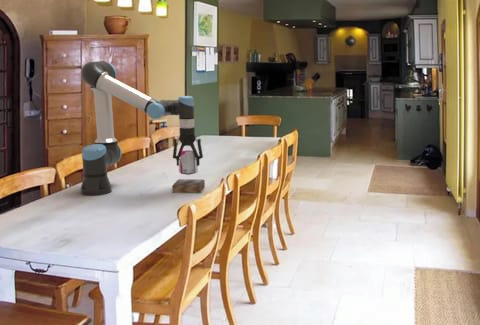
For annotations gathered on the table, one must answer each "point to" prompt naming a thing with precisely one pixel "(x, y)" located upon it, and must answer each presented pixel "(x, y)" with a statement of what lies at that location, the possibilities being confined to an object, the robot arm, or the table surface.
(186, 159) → the supplement box
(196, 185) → the walnut stand
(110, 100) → the robot arm
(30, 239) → the table surface
